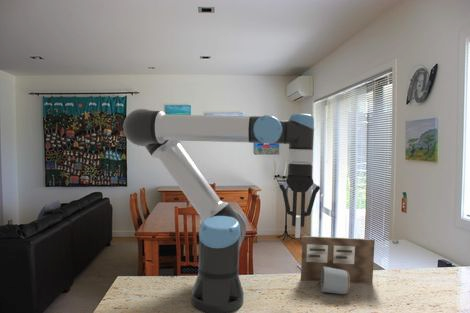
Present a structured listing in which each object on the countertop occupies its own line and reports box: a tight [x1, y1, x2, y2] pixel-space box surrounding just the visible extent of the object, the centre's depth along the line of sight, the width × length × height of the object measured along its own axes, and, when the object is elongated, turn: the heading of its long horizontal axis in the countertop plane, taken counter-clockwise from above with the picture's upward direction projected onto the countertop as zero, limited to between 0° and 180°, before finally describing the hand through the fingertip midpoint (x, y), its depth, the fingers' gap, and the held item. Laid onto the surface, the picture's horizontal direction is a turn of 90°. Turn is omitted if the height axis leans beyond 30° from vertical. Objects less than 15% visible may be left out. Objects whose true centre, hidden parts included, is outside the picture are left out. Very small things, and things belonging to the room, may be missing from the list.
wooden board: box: [300, 235, 376, 285], centre depth 107 cm, size 24×1×15 cm, turn 88°
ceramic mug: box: [320, 266, 351, 295], centre depth 101 cm, size 11×8×8 cm
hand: (297, 236), depth 101 cm, fingers closed
